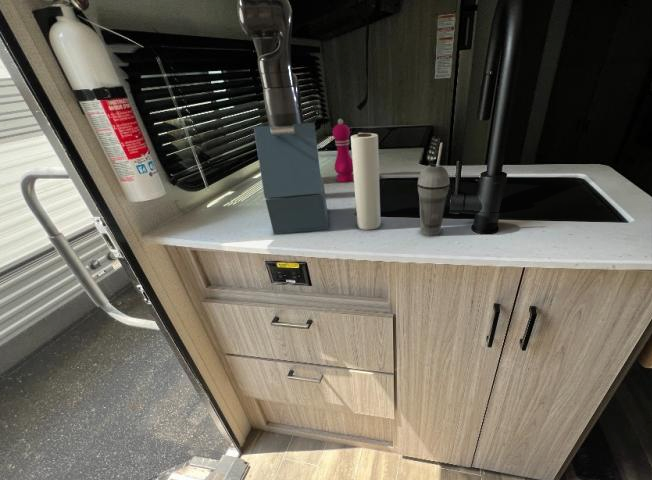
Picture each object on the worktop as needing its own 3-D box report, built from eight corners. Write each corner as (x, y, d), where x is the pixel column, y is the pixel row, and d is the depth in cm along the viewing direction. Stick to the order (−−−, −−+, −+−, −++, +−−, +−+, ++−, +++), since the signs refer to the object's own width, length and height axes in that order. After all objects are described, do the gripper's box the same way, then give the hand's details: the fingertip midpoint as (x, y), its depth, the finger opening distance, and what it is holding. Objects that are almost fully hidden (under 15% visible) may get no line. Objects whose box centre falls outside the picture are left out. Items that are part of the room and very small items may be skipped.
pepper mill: (338, 177, 122) (332, 117, 110) (356, 177, 121) (352, 117, 109) (334, 182, 116) (327, 120, 104) (353, 182, 115) (348, 119, 103)
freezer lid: (254, 128, 73) (248, 120, 68) (314, 123, 74) (312, 115, 69) (265, 198, 76) (260, 196, 72) (322, 193, 77) (321, 190, 72)
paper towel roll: (376, 231, 80) (372, 137, 67) (353, 229, 82) (346, 136, 69) (384, 220, 85) (383, 131, 72) (363, 218, 87) (358, 131, 74)
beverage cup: (423, 224, 82) (428, 138, 70) (450, 229, 78) (459, 140, 66) (409, 234, 77) (412, 144, 65) (437, 241, 74) (445, 146, 62)
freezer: (280, 213, 94) (273, 182, 88) (327, 209, 94) (323, 178, 89) (273, 234, 82) (265, 200, 76) (327, 229, 82) (322, 195, 77)
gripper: (314, 107, 77) (323, 179, 87) (254, 111, 76) (271, 183, 86) (313, 110, 71) (323, 187, 81) (248, 114, 70) (267, 192, 80)
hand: (296, 184), depth 84 cm, fingers open, 5 cm apart
